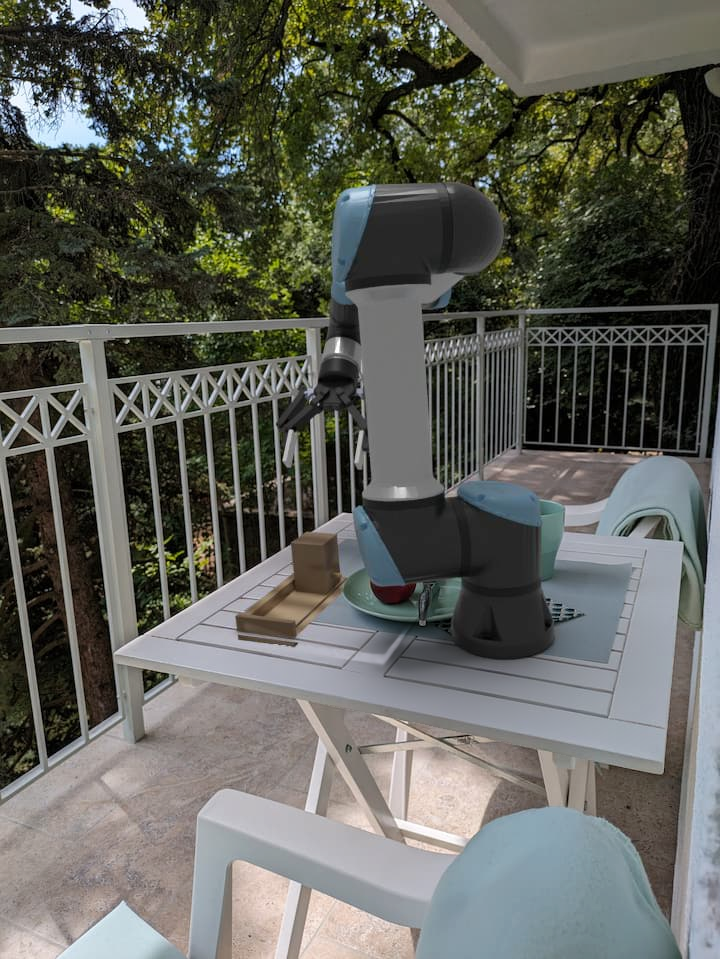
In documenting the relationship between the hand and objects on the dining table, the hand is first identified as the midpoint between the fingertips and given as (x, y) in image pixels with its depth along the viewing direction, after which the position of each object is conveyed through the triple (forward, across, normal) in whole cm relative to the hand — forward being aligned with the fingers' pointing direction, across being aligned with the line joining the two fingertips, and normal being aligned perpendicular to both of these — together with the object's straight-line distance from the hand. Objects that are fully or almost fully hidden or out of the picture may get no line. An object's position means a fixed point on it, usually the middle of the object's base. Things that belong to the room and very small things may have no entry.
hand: (321, 465), depth 132 cm
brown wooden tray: (+26, 0, -3) cm, 26 cm away
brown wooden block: (+20, -1, -7) cm, 22 cm away
